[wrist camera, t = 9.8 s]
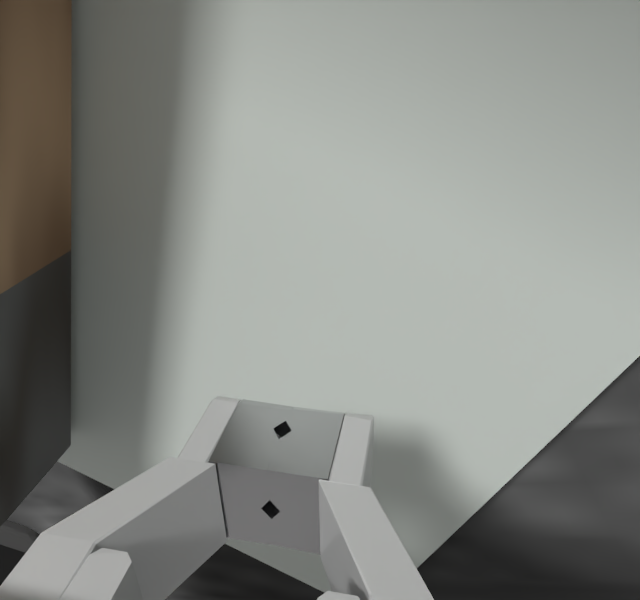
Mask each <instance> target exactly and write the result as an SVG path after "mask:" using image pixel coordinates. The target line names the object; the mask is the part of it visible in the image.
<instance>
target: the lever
mask: <svg viewBox="0 0 640 600" xmlns="http://www.w3.org/2000/svg"><path fill="white" fill-rule="evenodd" d="M71 84H72V0H0V527H1V525H2V524H3V523H4V522H5V521H6V520H7V519H8V517H9V516H10V515H11V514H12V513H13V512H14V510H15V509H16V508H17V507H18V506H19V505H20V503H21V502H22V501H23V500H24V499H25V498H26V497H27V495H28V494H29V493H30V492H31V491H32V490H33V488H34V487H35V486H36V485H37V484H38V483H39V481H40V480H41V479H42V478H43V477H44V476H45V475H46V473H47V472H48V471H49V470H50V469H51V468H52V466H53V465H54V464H55V463H56V462H57V461H58V459H59V458H60V457H61V456H62V455H63V454H64V453H65V451H66V450H67V449H68V448H69V447H70V446H71Z"/></svg>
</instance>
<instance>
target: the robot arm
mask: <svg viewBox="0 0 640 600" xmlns="http://www.w3.org/2000/svg"><path fill="white" fill-rule="evenodd" d="M373 439H374V417H373V415H364V414H355V413H342V412H333V411H325V410H317V409H308V408H300V407H291V406H285V405H278V404H271V403H265V402H258V401H251V400H245V399H243V400H241V399H235V398H228V397H222V396H217V397H216V398H214V399H213V400H212V401H211V402H210V404H209V406H208V407H207V409H206V411H205V412H204V414H203V416H202V417H201V419H200V421H199V422H198V424H197V426H196V427H195V429H194V431H193V432H192V434H191V436H190V437H189V439H188V441H187V442H186V444H185V446H184V448H183V449H182V451H181V453H180V454H179V456H178V458H174V457H169V458H167V459H165V460H164V461H162V462H160V463H159V464H157V465H155V466H153V467H152V468H150V469H148V470H147V471H145V472H143V473H142V474H140V475H138V476H137V477H135V478H133V479H131V480H130V481H128V482H126V483H125V484H123V485H121V486H120V487H118V488H116V489H115V490H113V491H111V492H110V493H108V494H106V495H104V496H103V497H101V498H99V499H98V500H96V501H94V502H93V503H91V504H89V505H88V506H86V507H84V508H83V509H81V510H79V511H77V512H76V513H74V514H72V515H71V516H69V517H67V518H66V519H64V520H62V521H61V522H59V523H57V524H56V525H54V526H52V527H50V528H49V529H47V530H45V531H44V532H42V533H41V534H40V535H39V536H38V538H37V539H36V540H35V542H34V543H33V544H32V545H31V547H30V548H29V549H28V551H27V552H26V553H25V555H24V556H23V557H22V558H21V560H20V561H19V562H18V564H17V565H16V566H15V567H14V569H13V570H12V571H11V573H10V574H9V575H8V577H7V578H6V579H5V580H4V582H3V583H2V584H1V586H0V600H165V599H166V598H167V597H168V596H169V595H170V594H171V593H172V592H173V591H174V590H175V589H176V588H177V587H179V586H180V585H181V584H182V583H183V582H184V581H185V580H186V579H187V578H188V577H189V576H190V575H191V574H192V573H194V572H195V571H196V570H197V569H198V568H199V567H200V566H201V565H202V564H203V563H204V562H205V561H206V560H208V559H209V558H210V557H211V556H212V555H213V554H214V553H215V552H216V551H217V550H218V549H219V548H220V547H222V546H223V545H224V544H225V543H226V542H227V538H229V539H235V540H242V541H249V542H256V543H262V544H269V545H275V546H280V547H285V548H290V549H294V550H299V551H304V552H309V553H314V554H319V555H321V560H322V563H323V566H324V569H325V572H326V575H327V578H328V581H329V584H330V587H331V590H332V591H327V592H325V593H324V594H323V595H321V596H320V597H318V598H317V600H434V599H433V597H432V595H431V593H430V592H429V590H428V588H427V586H426V584H425V583H424V581H423V579H422V577H421V576H420V574H419V572H418V570H417V568H416V567H415V565H414V563H413V561H412V560H411V558H410V556H409V554H408V552H407V551H406V549H405V547H404V545H403V544H402V542H401V540H400V538H399V536H398V535H397V533H396V531H395V529H394V528H393V526H392V524H391V522H390V520H389V519H388V517H387V515H386V513H385V512H384V510H383V508H382V506H381V504H380V503H379V501H378V499H377V497H376V496H375V494H374V492H373V490H372V488H371V487H370V484H371V472H372V458H373Z"/></svg>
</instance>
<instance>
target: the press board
mask: <svg viewBox="0 0 640 600" xmlns="http://www.w3.org/2000/svg"><path fill="white" fill-rule="evenodd" d="M639 356H640V0H72V84H71V446H70V447H69V448H68V449H67V450H66V451H65V453H64V454H63V455H62V456H61V457H60V458H59V459H58V462H60V463H62V464H64V465H66V466H68V467H70V468H72V469H74V470H76V471H78V472H80V473H82V474H84V475H86V476H88V477H90V478H92V479H95V480H97V481H99V482H101V483H103V484H105V485H107V486H109V487H111V488H113V489H116V488H118V487H120V486H121V485H123V484H125V483H126V482H128V481H130V480H131V479H133V478H135V477H137V476H138V475H140V474H142V473H143V472H145V471H147V470H148V469H150V468H152V467H153V466H155V465H157V464H159V463H160V462H162V461H164V460H165V459H167V458H169V457H174V458H178V456H179V454H180V453H181V451H182V449H183V448H184V446H185V444H186V442H187V441H188V439H189V437H190V436H191V434H192V432H193V431H194V429H195V427H196V426H197V424H198V422H199V421H200V419H201V417H202V416H203V414H204V412H205V411H206V409H207V407H208V406H209V404H210V402H211V401H212V400H213V399H214V398H216V397H217V396H222V397H228V398H235V399H241V400H243V399H245V400H251V401H258V402H265V403H271V404H278V405H285V406H291V407H300V408H308V409H317V410H325V411H333V412H342V413H355V414H364V415H373V417H374V439H373V458H372V472H371V484H370V487H371V488H372V490H373V492H374V494H375V496H376V497H377V499H378V501H379V503H380V504H381V506H382V508H383V510H384V512H385V513H386V515H387V517H388V519H389V520H390V522H391V524H392V526H393V528H394V529H395V531H396V533H397V535H398V536H399V538H400V540H401V542H402V544H403V545H404V547H405V549H406V551H407V552H408V554H409V556H410V558H411V560H412V561H413V563H414V565H415V567H416V568H418V567H419V566H420V565H421V564H422V563H423V562H424V561H425V560H426V559H427V558H428V557H429V556H430V555H431V554H433V553H434V552H435V551H436V550H437V549H438V548H439V547H440V546H441V545H442V544H443V543H444V542H445V541H446V540H447V539H448V538H449V537H450V536H451V535H452V534H453V533H455V532H456V531H457V530H458V529H459V528H460V527H461V526H462V525H463V524H464V523H465V522H466V521H467V520H468V519H469V518H470V517H471V516H472V515H473V514H474V513H475V512H477V511H478V510H479V509H480V508H481V507H482V506H483V505H484V504H485V503H486V502H487V501H488V500H489V499H490V498H491V497H492V496H493V495H494V494H495V493H496V492H497V491H499V490H500V489H501V488H502V487H503V486H504V485H505V484H506V483H507V482H508V481H509V480H510V479H511V478H512V477H513V476H514V475H515V474H516V473H517V472H518V471H519V470H521V469H522V468H523V467H524V466H525V465H526V464H527V463H528V462H529V461H530V460H531V459H532V458H533V457H534V456H535V455H536V454H537V453H538V452H539V451H540V450H541V449H543V448H544V447H545V446H546V445H547V444H548V443H549V442H550V441H551V440H552V439H553V438H554V437H555V436H556V435H557V434H558V433H559V432H560V431H561V430H562V429H563V428H565V427H566V426H567V425H568V424H569V423H570V422H571V421H572V420H573V419H574V418H575V417H576V416H577V415H578V414H579V413H580V412H581V411H582V410H583V409H584V408H585V407H587V406H588V405H589V404H590V403H591V402H592V401H593V400H594V399H595V398H596V397H597V396H598V395H599V394H600V393H601V392H602V391H603V390H604V389H605V388H606V387H607V386H609V385H610V384H611V383H612V382H613V381H614V380H615V379H616V378H617V377H618V376H619V375H620V374H621V373H622V372H623V371H624V370H625V369H626V368H627V367H628V366H629V365H631V364H632V363H633V362H634V361H635V360H636V359H637V358H638V357H639ZM225 544H227V545H229V546H231V547H233V548H235V549H237V550H239V551H241V552H243V553H245V554H247V555H249V556H251V557H253V558H255V559H257V560H259V561H261V562H263V563H265V564H267V565H269V566H271V567H273V568H275V569H277V570H279V571H282V572H284V573H286V574H288V575H290V576H292V577H294V578H296V579H298V580H300V581H302V582H304V583H306V584H308V585H310V586H312V587H314V588H316V589H318V590H320V591H322V592H324V593H325V592H327V591H332V590H331V587H330V584H329V581H328V578H327V575H326V572H325V569H324V566H323V563H322V560H321V555H319V554H314V553H309V552H304V551H299V550H294V549H290V548H285V547H280V546H275V545H269V544H262V543H256V542H249V541H242V540H235V539H229V538H227V542H226V543H225Z"/></svg>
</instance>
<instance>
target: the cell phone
mask: <svg viewBox="0 0 640 600" xmlns="http://www.w3.org/2000/svg"><path fill="white" fill-rule="evenodd" d="M38 536H39V534H38V533H37V532H35V531H34V530H32V529H29V528H27V527H25V526H22V525H20V524H17V523H14V522H11V521H8V520H6V521H5V522H4V523H3V524H2V525H1V527H0V586H1V584H2V583H3V582H4V580H5V579H6V578H7V577H8V575H9V574H10V573H11V571H12V570H13V569H14V567H15V566H16V565H17V564H18V562H19V561H20V560H21V558H22V557H23V556H24V555H25V553H26V552H27V551H28V549H29V548H30V547H31V545H32V544H33V543H34V542H35V540H36V539H37V538H38Z"/></svg>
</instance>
